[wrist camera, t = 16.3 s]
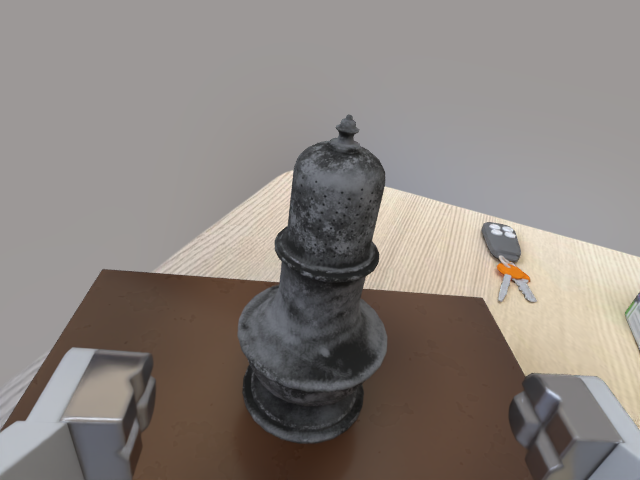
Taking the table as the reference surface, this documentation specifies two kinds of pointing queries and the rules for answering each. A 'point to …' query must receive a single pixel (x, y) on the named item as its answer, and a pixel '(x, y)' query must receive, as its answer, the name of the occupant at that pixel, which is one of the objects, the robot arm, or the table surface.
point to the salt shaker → (318, 299)
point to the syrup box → (634, 318)
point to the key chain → (507, 257)
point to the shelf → (284, 456)
